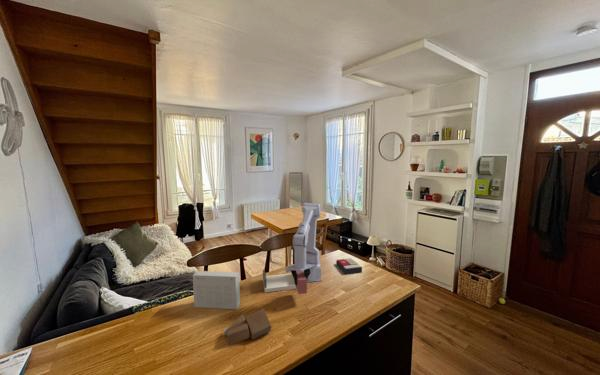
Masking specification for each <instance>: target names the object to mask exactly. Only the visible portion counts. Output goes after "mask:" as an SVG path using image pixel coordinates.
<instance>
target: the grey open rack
mask: <svg viewBox="0 0 600 375" xmlns="http://www.w3.org/2000/svg"><path fill="white" fill-rule="evenodd" d="M262 281H263V282H262V283H263V289H264V293H271V292H281V291H288V290H297V289H296V286H295V281H294V277H293V275H292V273H291V272H290V273H289V272H288V273H281V274H272V275H270V274H269V275H266V271H265V269H262Z"/></svg>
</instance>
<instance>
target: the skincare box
mask: <svg viewBox="0 0 600 375" xmlns="http://www.w3.org/2000/svg"><path fill="white" fill-rule="evenodd" d="M192 283H193V284H192V285H193V286H192V289H193V290H192V292H193V308H203V309H206V308H207V309H219V310H220V309H221V310H222V309H223V310H224V309H225V310H226V309H227V310H237V309H238V308H239V307H240V306H241V305H240V304H241V293H240V292H241V291H240V272H238V271H237V272H235V271H234V272H233V271H211V270H210V271H209V270H197V271H195V273H194V274H192Z"/></svg>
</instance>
